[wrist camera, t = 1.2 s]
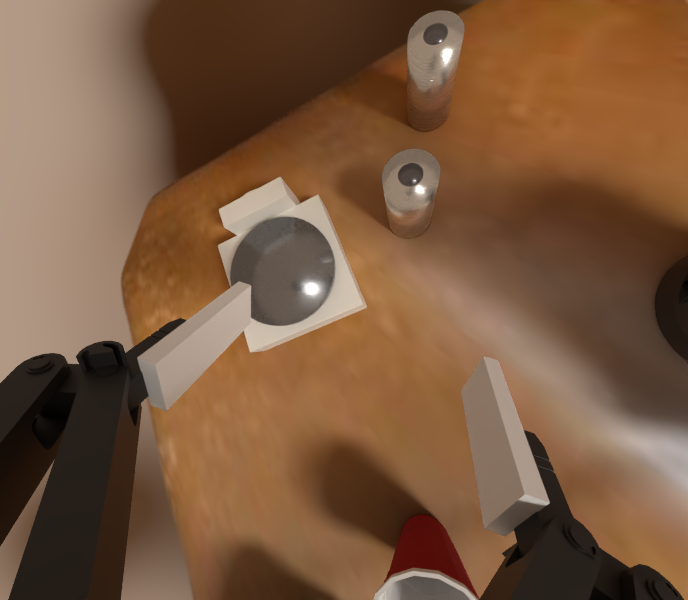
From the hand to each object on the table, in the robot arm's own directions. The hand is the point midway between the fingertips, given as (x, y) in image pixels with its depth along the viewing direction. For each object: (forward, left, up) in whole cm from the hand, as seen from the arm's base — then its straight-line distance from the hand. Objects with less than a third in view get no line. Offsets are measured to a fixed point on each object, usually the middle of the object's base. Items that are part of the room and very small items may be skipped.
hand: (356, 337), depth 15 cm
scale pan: (+9, -13, -19) cm, 25 cm away
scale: (+9, -15, -23) cm, 29 cm away
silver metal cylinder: (-10, -14, -23) cm, 29 cm away
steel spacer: (-19, -28, -23) cm, 41 cm away
